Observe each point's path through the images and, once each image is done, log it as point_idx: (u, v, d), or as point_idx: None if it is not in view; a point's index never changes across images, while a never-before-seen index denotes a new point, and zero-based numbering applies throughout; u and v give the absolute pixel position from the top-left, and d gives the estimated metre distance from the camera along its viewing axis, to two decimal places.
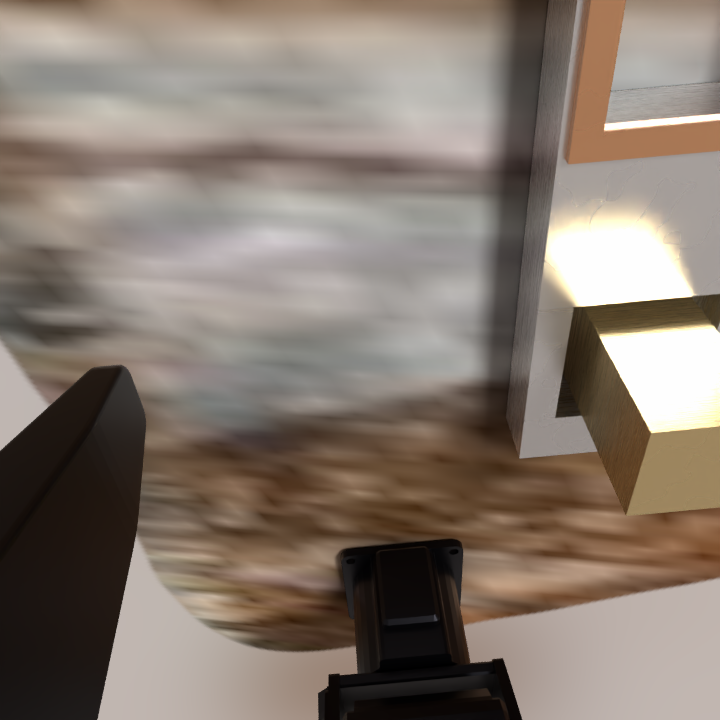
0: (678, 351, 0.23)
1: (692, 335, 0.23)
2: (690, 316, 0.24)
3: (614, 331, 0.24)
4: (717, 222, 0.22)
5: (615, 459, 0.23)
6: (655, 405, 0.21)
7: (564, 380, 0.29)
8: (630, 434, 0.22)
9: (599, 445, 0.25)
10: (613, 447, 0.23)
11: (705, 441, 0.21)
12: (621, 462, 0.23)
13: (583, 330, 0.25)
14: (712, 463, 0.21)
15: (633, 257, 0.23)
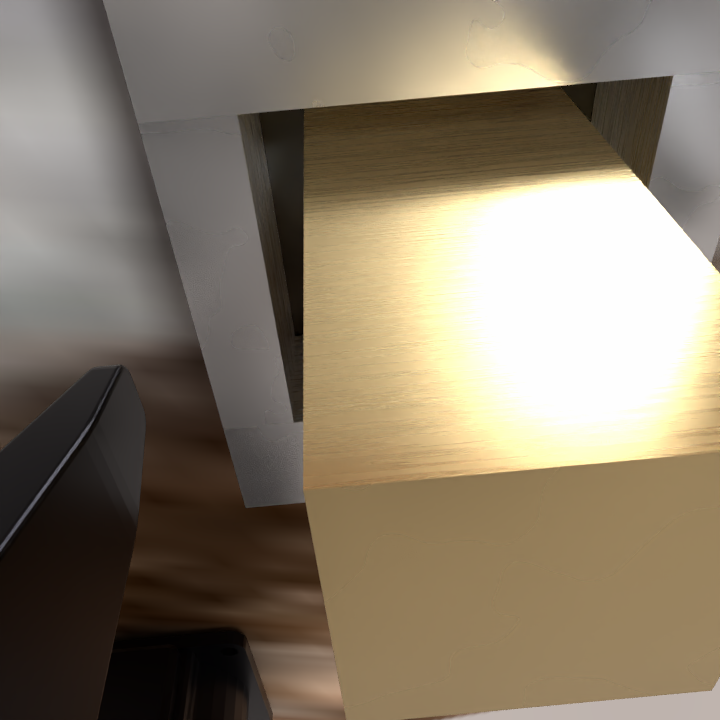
0: (509, 222, 0.08)
1: (562, 185, 0.08)
2: (568, 147, 0.09)
3: (351, 181, 0.09)
4: None
5: None
6: (369, 381, 0.06)
7: None
8: None
9: None
10: None
11: (541, 519, 0.05)
12: None
13: None
14: (585, 588, 0.06)
15: None
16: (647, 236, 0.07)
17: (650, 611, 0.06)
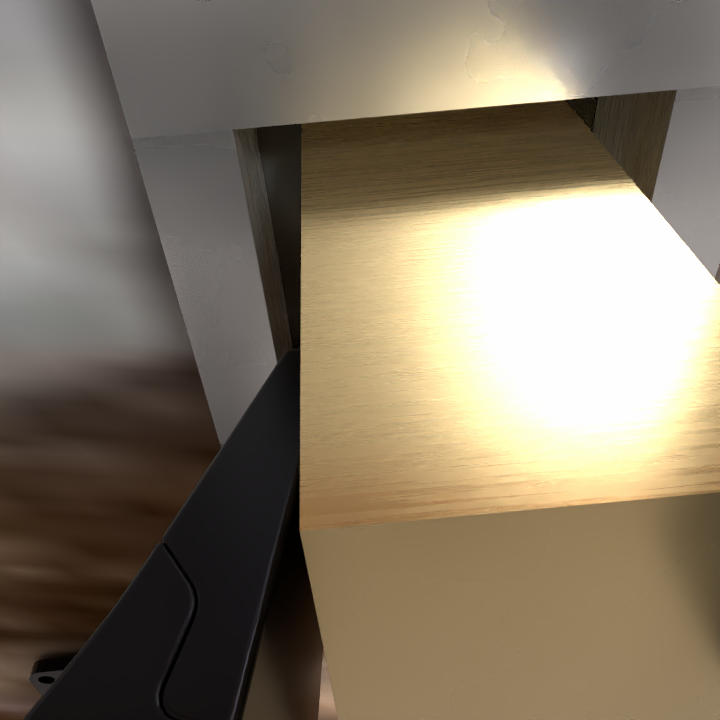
0: (512, 241, 0.07)
1: (566, 202, 0.08)
2: (572, 161, 0.09)
3: (350, 197, 0.08)
4: None
5: None
6: (369, 412, 0.06)
7: None
8: None
9: None
10: None
11: (548, 557, 0.05)
12: None
13: None
14: (592, 624, 0.06)
15: None
16: (655, 257, 0.07)
17: (658, 646, 0.06)
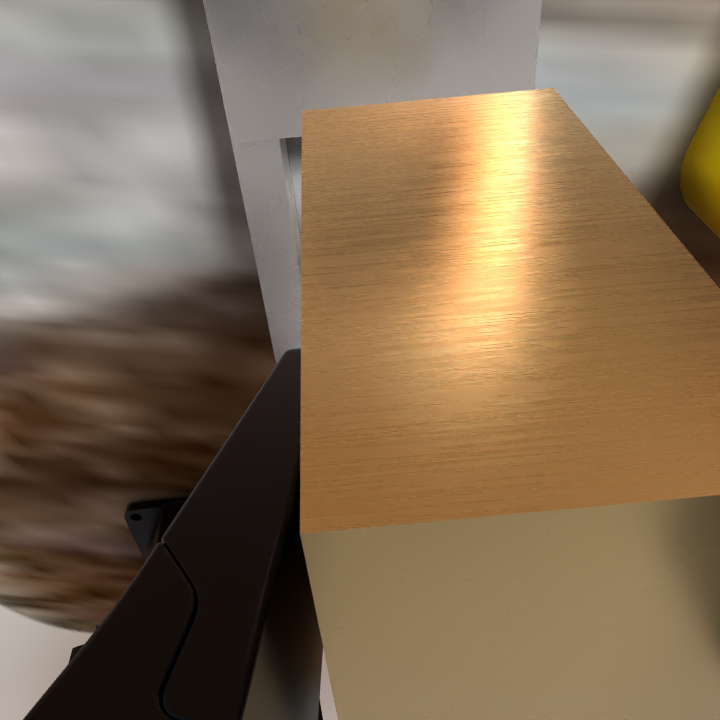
0: (512, 244, 0.07)
1: (565, 204, 0.08)
2: (572, 163, 0.09)
3: (349, 199, 0.08)
4: (438, 1, 0.16)
5: None
6: (369, 414, 0.06)
7: None
8: None
9: None
10: None
11: (547, 560, 0.05)
12: None
13: None
14: (592, 626, 0.06)
15: (337, 58, 0.17)
16: (654, 259, 0.07)
17: (658, 647, 0.06)
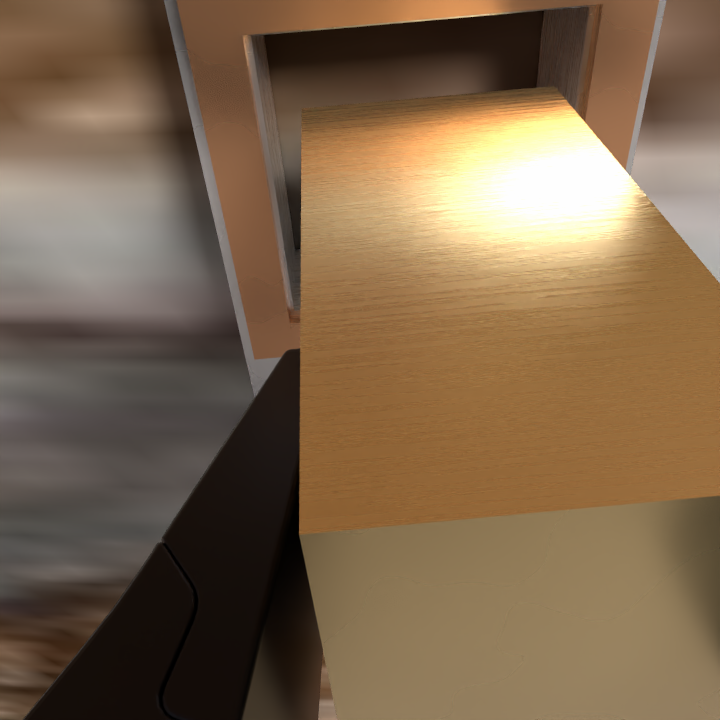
0: (513, 242, 0.07)
1: (567, 202, 0.08)
2: (573, 161, 0.09)
3: (349, 197, 0.08)
4: None
5: None
6: (370, 413, 0.05)
7: None
8: None
9: None
10: None
11: (548, 561, 0.05)
12: None
13: None
14: (593, 627, 0.06)
15: None
16: (656, 257, 0.07)
17: (660, 649, 0.06)
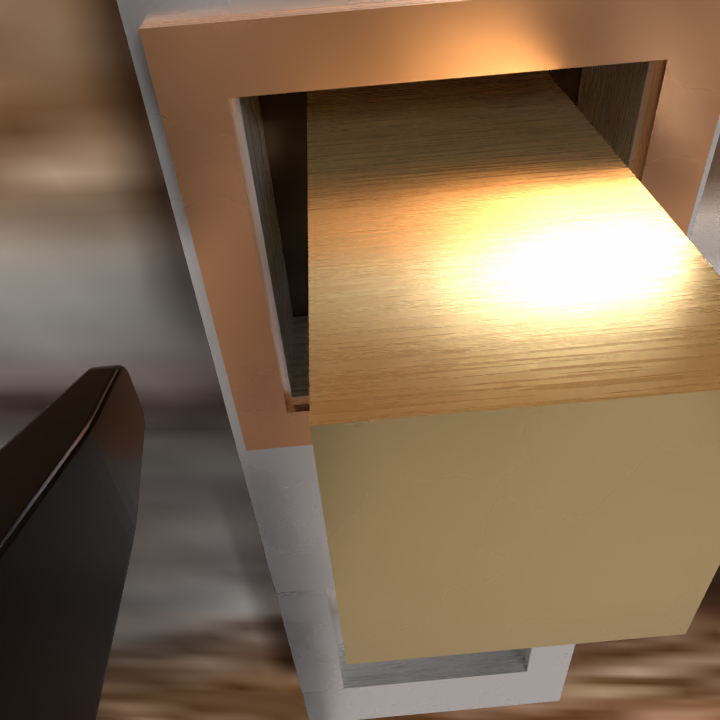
0: (500, 197, 0.08)
1: (549, 165, 0.09)
2: (557, 131, 0.09)
3: (351, 161, 0.09)
4: None
5: None
6: (369, 335, 0.06)
7: None
8: None
9: None
10: None
11: (524, 458, 0.06)
12: None
13: None
14: (566, 527, 0.06)
15: None
16: (627, 211, 0.08)
17: (626, 551, 0.07)
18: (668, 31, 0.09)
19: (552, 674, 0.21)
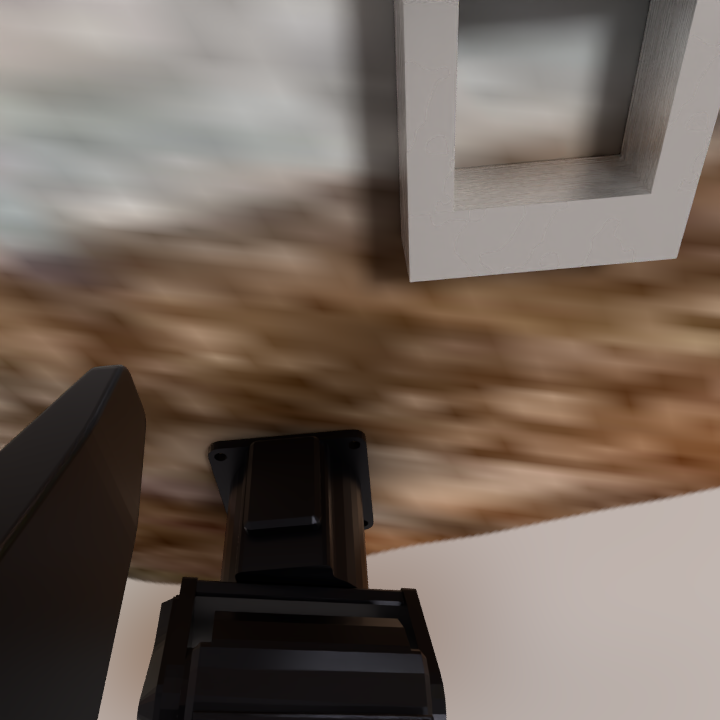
0: None
1: None
2: None
3: None
4: None
5: None
6: None
7: (475, 172, 0.20)
8: None
9: None
10: None
11: None
12: None
13: None
14: None
15: None
16: None
17: None
18: None
19: (676, 202, 0.19)
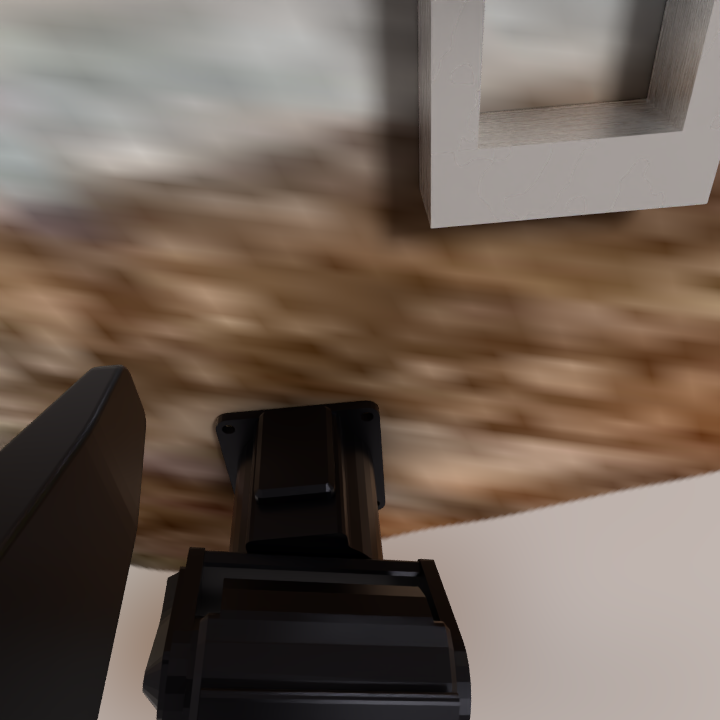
0: None
1: None
2: None
3: None
4: None
5: None
6: None
7: (497, 116, 0.20)
8: None
9: None
10: None
11: None
12: None
13: None
14: None
15: None
16: None
17: None
18: None
19: (709, 141, 0.18)
